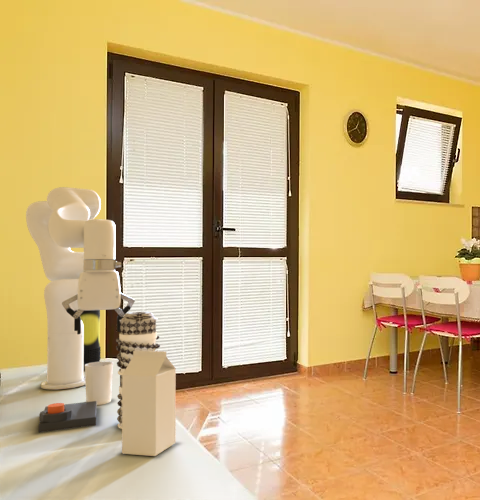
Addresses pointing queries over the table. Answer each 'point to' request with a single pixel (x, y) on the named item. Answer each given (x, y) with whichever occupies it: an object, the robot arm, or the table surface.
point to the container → (91, 335)
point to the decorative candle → (134, 343)
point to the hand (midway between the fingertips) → (99, 332)
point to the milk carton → (148, 404)
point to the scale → (69, 417)
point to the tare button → (55, 408)
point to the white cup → (98, 382)
